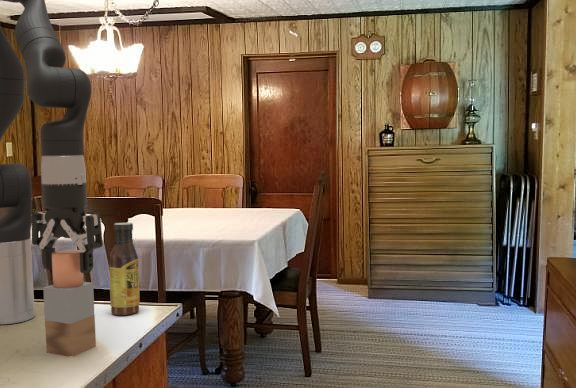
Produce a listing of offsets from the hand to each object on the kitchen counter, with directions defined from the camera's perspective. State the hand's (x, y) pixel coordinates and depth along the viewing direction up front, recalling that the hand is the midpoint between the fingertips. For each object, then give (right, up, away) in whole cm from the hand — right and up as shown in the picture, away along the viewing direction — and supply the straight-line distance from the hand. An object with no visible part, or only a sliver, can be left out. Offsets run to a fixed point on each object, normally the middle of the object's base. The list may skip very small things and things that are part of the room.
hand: (67, 270), depth 109 cm
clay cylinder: (0, -3, 0) cm, 3 cm away
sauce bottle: (+4, -13, +25) cm, 28 cm away
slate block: (0, -9, +1) cm, 9 cm away
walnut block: (0, -15, +1) cm, 15 cm away
